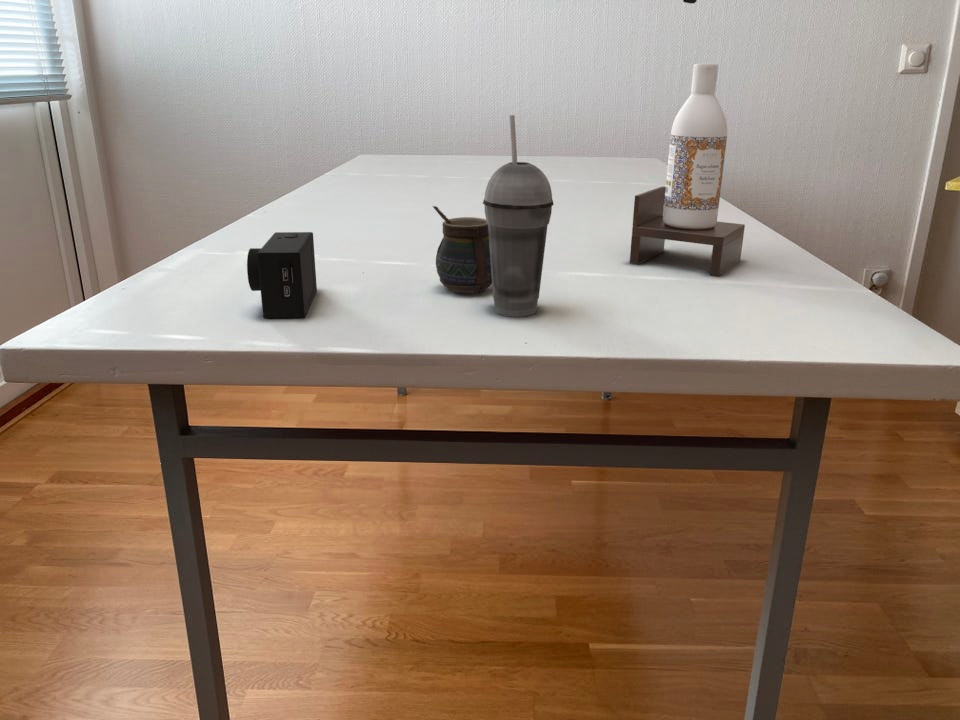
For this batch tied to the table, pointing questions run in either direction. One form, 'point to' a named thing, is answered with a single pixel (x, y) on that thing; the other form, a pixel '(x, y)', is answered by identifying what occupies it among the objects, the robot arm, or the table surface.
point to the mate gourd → (464, 255)
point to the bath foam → (696, 156)
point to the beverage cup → (517, 232)
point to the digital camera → (284, 274)
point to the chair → (680, 234)
